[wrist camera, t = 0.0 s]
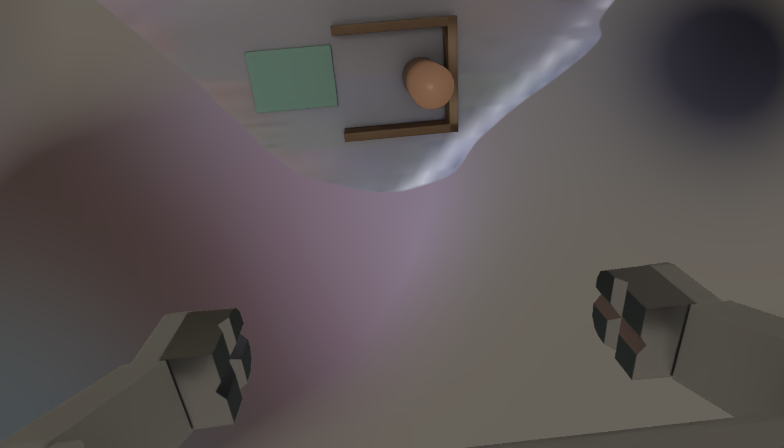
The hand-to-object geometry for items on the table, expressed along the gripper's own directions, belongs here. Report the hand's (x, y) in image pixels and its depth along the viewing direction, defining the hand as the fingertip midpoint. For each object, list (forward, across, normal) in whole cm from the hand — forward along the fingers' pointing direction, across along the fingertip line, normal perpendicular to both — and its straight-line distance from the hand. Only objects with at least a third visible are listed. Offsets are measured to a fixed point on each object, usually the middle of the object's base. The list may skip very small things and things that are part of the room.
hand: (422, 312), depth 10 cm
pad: (+48, +10, -1) cm, 49 cm away
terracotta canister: (+48, -6, 0) cm, 48 cm away
